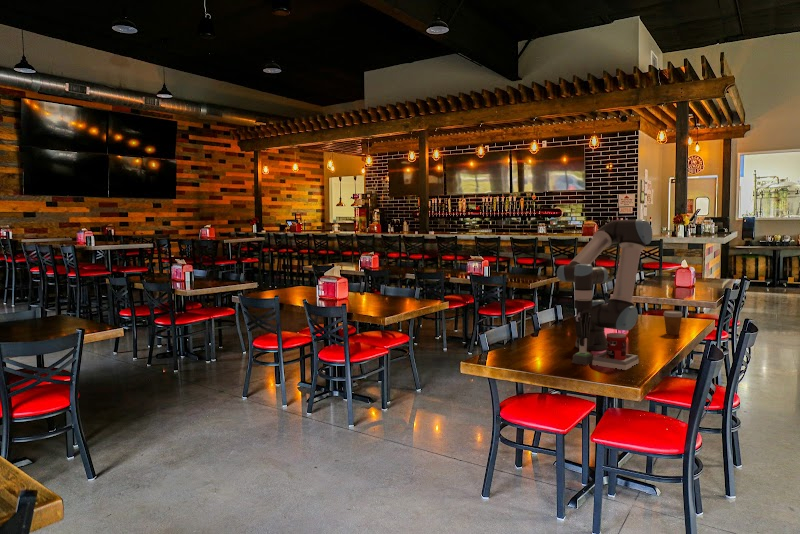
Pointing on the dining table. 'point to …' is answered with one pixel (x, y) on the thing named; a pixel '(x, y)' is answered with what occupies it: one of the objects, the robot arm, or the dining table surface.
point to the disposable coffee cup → (672, 322)
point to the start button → (583, 354)
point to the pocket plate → (615, 361)
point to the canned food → (616, 346)
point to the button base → (582, 359)
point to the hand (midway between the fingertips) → (583, 352)
